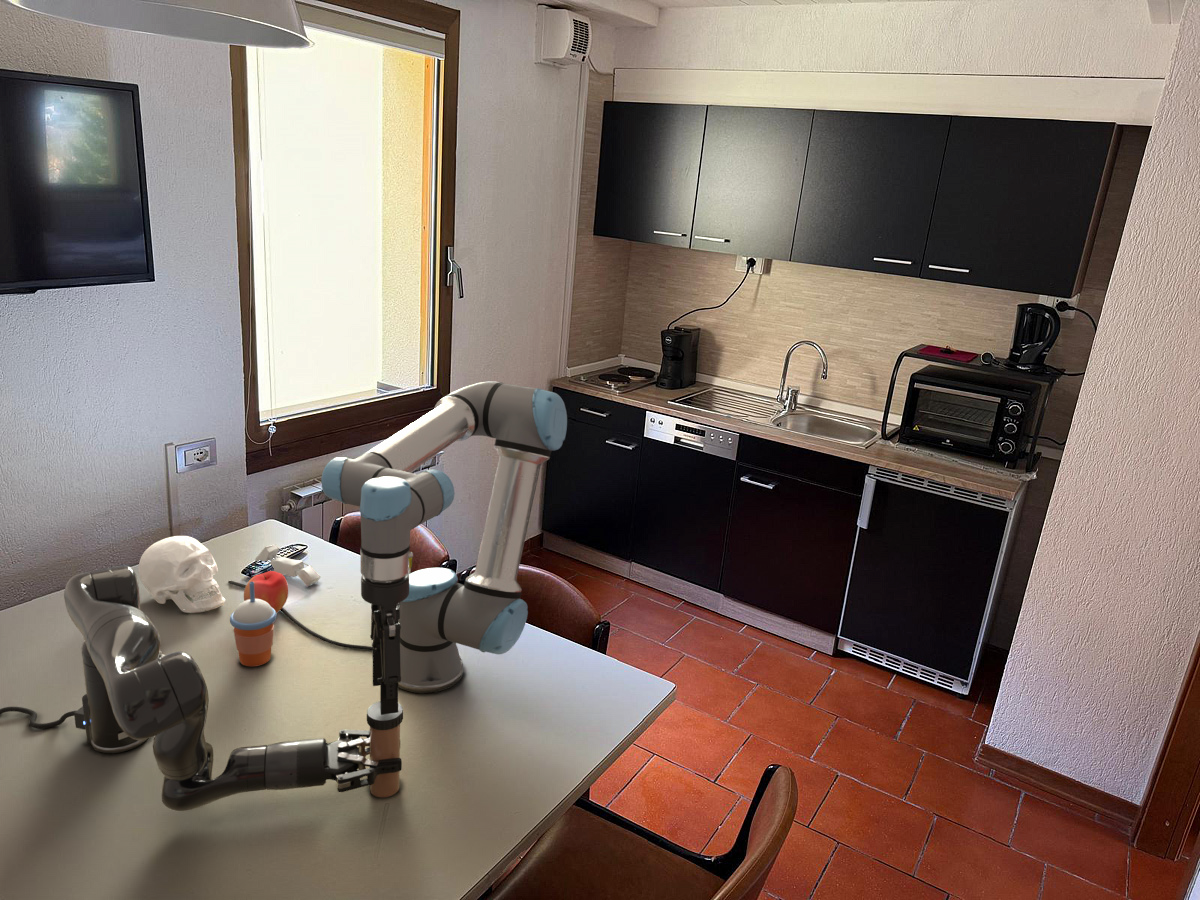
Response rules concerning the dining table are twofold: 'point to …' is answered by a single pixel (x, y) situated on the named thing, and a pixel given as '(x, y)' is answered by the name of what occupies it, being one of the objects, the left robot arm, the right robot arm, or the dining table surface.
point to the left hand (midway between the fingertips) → (400, 753)
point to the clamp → (288, 565)
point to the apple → (269, 589)
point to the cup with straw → (253, 630)
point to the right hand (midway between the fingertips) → (385, 697)
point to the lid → (383, 718)
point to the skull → (181, 574)
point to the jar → (385, 747)
